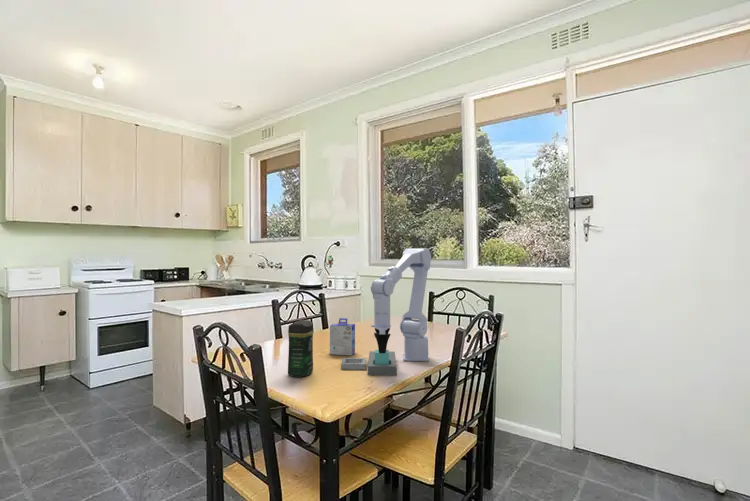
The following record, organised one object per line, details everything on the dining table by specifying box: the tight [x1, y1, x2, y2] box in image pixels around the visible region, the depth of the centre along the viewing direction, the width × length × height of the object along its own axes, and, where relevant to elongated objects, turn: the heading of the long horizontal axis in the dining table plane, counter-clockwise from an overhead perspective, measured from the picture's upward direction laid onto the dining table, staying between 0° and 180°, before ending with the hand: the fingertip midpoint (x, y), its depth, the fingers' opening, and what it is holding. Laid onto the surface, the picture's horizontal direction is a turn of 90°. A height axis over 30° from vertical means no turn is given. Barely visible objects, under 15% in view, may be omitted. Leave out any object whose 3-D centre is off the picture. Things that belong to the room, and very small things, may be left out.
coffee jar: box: [287, 319, 314, 378], centre depth 141 cm, size 10×8×19 cm
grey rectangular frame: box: [340, 357, 367, 371], centre depth 150 cm, size 9×8×2 cm
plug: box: [374, 349, 390, 364], centre depth 144 cm, size 5×4×8 cm
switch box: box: [367, 350, 398, 376], centre depth 149 cm, size 10×20×3 cm, turn 179°
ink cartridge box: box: [329, 317, 356, 356], centre depth 168 cm, size 10×6×14 cm, turn 78°
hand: (382, 350), depth 144 cm, fingers open, 7 cm apart
